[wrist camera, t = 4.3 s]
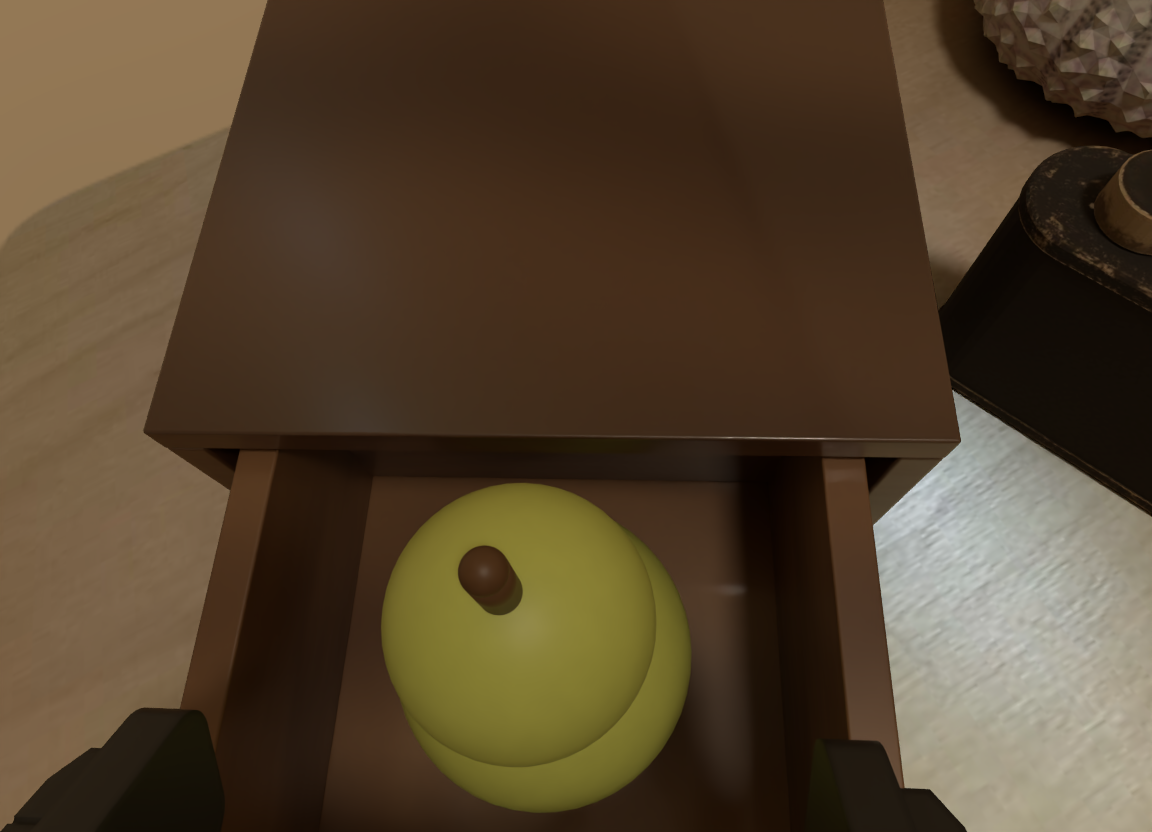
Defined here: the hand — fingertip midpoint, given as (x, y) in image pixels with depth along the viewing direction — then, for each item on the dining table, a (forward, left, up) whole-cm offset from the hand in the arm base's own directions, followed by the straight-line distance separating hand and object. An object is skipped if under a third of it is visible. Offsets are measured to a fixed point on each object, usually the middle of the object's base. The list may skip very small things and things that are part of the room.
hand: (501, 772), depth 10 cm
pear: (0, +2, -8) cm, 8 cm away
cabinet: (0, +13, -10) cm, 16 cm away
